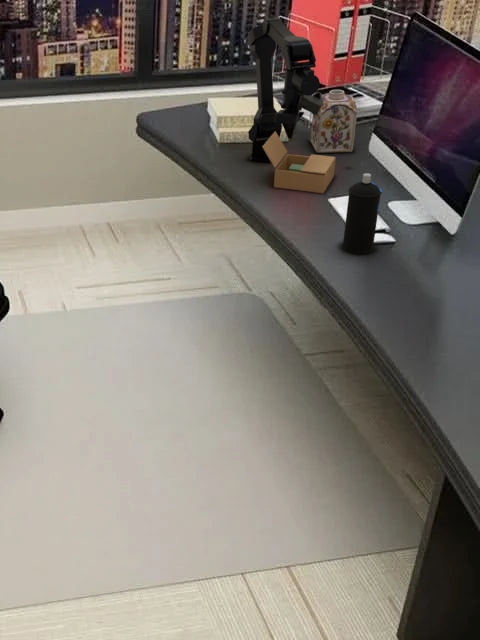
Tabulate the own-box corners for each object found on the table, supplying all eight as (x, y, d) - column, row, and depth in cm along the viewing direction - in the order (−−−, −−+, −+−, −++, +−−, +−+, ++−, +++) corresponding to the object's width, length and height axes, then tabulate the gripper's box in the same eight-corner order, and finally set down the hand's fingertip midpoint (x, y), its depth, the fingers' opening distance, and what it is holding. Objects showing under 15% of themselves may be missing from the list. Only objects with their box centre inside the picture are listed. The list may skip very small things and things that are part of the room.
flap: (275, 167, 294) (274, 167, 294) (287, 151, 304) (286, 152, 304) (263, 146, 292) (262, 146, 292) (275, 131, 302) (274, 131, 302)
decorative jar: (353, 152, 318) (359, 96, 308) (316, 154, 318) (321, 97, 308) (345, 139, 328) (351, 85, 318) (309, 141, 328) (314, 86, 318)
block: (300, 182, 298) (301, 169, 296) (287, 181, 300) (288, 168, 297) (304, 178, 301) (305, 165, 299) (291, 176, 303) (292, 163, 300)
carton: (273, 187, 297) (275, 167, 294) (285, 170, 307) (287, 151, 304) (323, 193, 292) (325, 173, 288) (333, 176, 302) (335, 156, 299)
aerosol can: (355, 257, 257) (365, 183, 245) (335, 245, 263) (343, 172, 251) (380, 249, 260) (391, 176, 248) (359, 238, 266) (368, 166, 254)
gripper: (315, 97, 276) (310, 152, 285) (329, 78, 290) (323, 130, 299) (275, 94, 280) (271, 147, 289) (291, 75, 294) (287, 126, 303)
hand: (289, 138), depth 295 cm, fingers closed
